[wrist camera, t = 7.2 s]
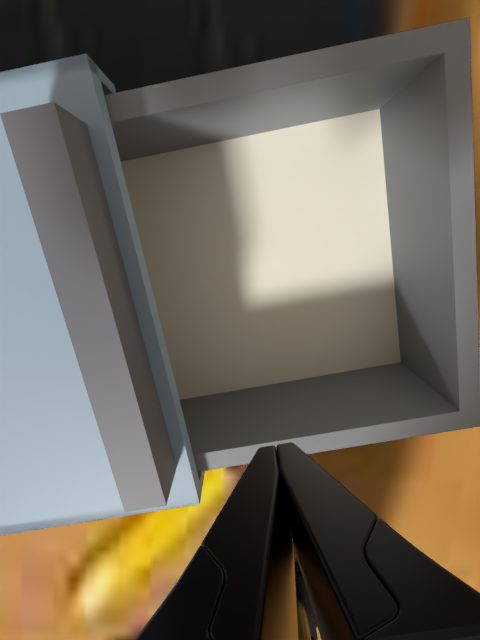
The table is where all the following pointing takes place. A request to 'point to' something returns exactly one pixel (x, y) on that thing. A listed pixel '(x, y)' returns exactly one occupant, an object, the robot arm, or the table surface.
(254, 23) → the table surface
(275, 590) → the robot arm
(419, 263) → the open gray box
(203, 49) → the table surface
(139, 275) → the lid
